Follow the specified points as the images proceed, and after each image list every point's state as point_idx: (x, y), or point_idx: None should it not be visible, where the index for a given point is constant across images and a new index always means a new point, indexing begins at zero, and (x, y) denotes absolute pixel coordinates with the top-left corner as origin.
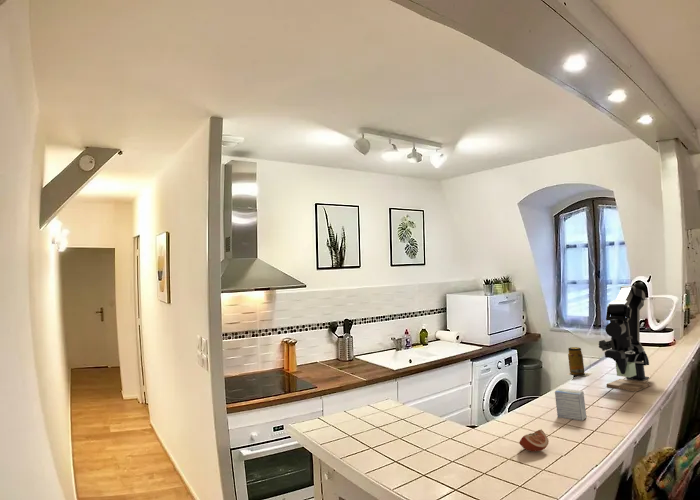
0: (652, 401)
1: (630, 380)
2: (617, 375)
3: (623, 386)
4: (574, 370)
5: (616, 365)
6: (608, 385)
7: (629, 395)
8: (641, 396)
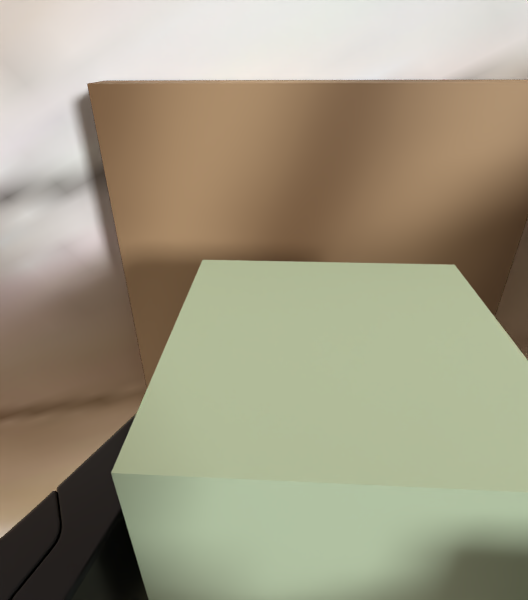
0: (5, 522)
1: (515, 253)
2: (201, 270)
3: (135, 315)
4: None
5: (138, 426)
6: (102, 115)
7: (3, 399)
8: (55, 458)
